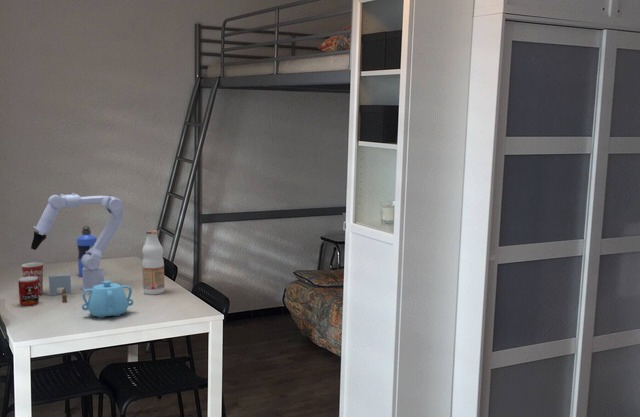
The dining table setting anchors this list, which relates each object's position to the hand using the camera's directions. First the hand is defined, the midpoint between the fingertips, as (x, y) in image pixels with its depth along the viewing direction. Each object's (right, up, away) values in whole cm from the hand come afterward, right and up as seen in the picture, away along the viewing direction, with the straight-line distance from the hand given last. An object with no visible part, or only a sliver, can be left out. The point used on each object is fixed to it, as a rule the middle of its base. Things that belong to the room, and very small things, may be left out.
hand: (33, 248), depth 318 cm
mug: (-2, -21, +6) cm, 22 cm away
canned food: (+3, -23, -11) cm, 26 cm away
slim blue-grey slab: (+10, -21, +5) cm, 24 cm away
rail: (+15, -22, -4) cm, 27 cm away
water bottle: (+11, -16, +42) cm, 46 cm away
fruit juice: (+52, -20, +7) cm, 56 cm away
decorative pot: (+41, -25, -28) cm, 56 cm away
